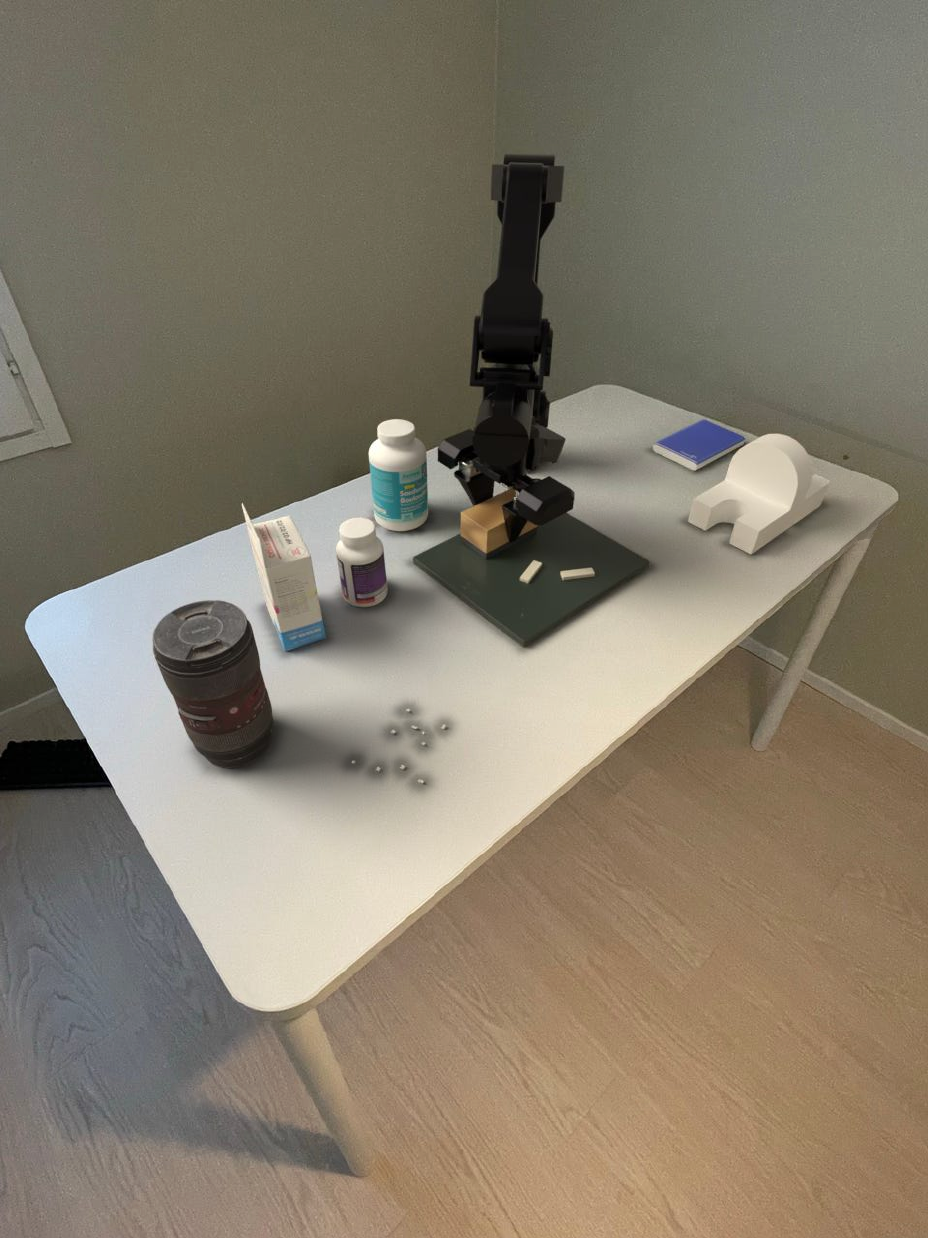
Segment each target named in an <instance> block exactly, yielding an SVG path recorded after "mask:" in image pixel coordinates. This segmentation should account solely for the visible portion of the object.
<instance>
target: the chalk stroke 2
mask: <svg viewBox="0 0 928 1238" xmlns="http://www.w3.org/2000/svg"><path fill="white" fill-rule="evenodd" d="M560 575H561V577H562V579H563V580H569V579H577V578H585V577H593V576H595V573H594V571H593V569H592V568H584V569H575V570H567V571H561V573H560Z"/></svg>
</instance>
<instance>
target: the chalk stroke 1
mask: <svg viewBox="0 0 928 1238" xmlns="http://www.w3.org/2000/svg"><path fill="white" fill-rule="evenodd" d="M541 566H542V563H541V562H538V561H535V560H533V562H532V563H531V564H530V565H529V567H528V568H527V569H526V570H525V572H524V573H523V574H522V575H521V577H520V581H522V582H525V583H529V582H530V581H531V579H532V578H533V577H534V575H535V574H536V573H537V572H538V570H539V569H540V568H541Z"/></svg>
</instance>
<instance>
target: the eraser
mask: <svg viewBox="0 0 928 1238" xmlns="http://www.w3.org/2000/svg"><path fill="white" fill-rule="evenodd" d="M515 492H516V490H514V489H506V490H504V491H502V492H500V493H498V494H496V495H493V497H492V498H490V499H488V500H486V501H484V502H482V503H479V504H477V505H475V506H473V505H472V506H471V507H469V508H467V509H465V510H463V511H461V512H460V533H461V542H463V543H464V544H465V545H467V546H468V547H469V548H471V549H472V550H474V551H475V552H476V553H478V554H479V555H480V556H482V557H483V558H485V559H488V558H490V557H492V556H494V555H496V554H498V553H500V552H501V551H503V550H505V549H507V548H509V547H511V546H513V545H514V544H516V543H518V542H520V541H522V540H524V539H526V538H528V537H529V536H531V535H533V534H535V533H537V526H538V525H534V524H533V523H531V522H530V521H527V522H526V524H525V526H524V528H523V530H522V531H521V533H520V535H519V537H518V539H517V540H515V541H514V542H510V541H509V539H508V536H507V532H506V526H505V521H504V516H503V511H502V505H504V504H506V503H508V502H510V501H512V500H514V497H515Z"/></svg>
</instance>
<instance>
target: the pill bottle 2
mask: <svg viewBox="0 0 928 1238" xmlns="http://www.w3.org/2000/svg"><path fill="white" fill-rule="evenodd" d="M376 430H377V431H376V432H377V439H375V440H374V441H373V442H372V443H371V445H370V446H369V450H368V462H369V474H370V484H371V485H370V486H371V495H372V497H371V498H372V507H373V517H374V519H375V521H376V523H377V524H378V526H379V525H380V527H382V528H383V529H386V530H390V531H394V532H405V531H412V530H415V529H418V528H419V527H420V526H422V525H424V523H425V522H426V521H427V519H428V516H429V492H428V491H429V489H428V458H427V455H428V454H427V449H426V446H425V444H424V443H423V442H422V440H420V439H419V438H417V437H416V427H415V425H414V424H413V423H412V422H411V421H410V420H406V419H399V418H395V419H387V420H384V421H382V422H381V423H379V424H378V425H377V428H376Z"/></svg>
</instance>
